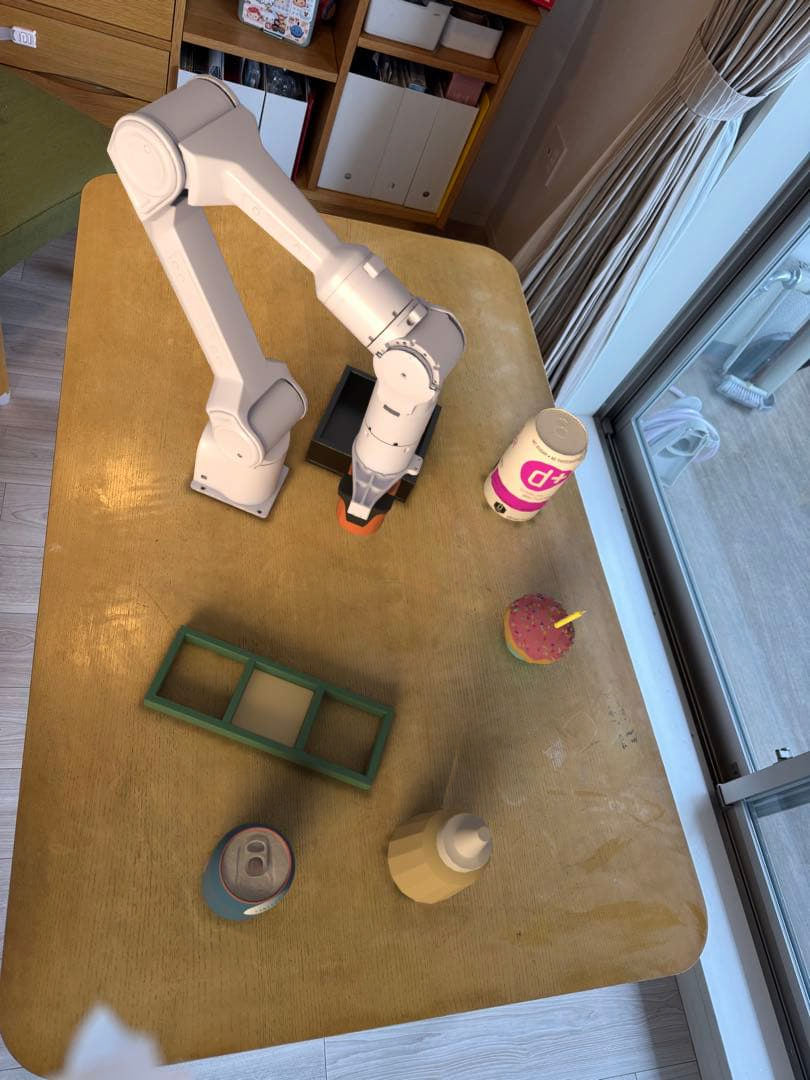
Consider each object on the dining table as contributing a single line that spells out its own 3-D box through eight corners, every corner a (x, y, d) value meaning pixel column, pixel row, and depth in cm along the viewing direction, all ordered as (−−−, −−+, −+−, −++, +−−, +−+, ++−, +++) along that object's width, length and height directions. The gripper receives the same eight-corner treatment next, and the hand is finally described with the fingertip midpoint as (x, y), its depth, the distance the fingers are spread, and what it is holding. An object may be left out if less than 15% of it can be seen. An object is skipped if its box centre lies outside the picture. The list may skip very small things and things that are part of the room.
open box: (304, 460, 96) (311, 439, 93) (339, 386, 104) (347, 364, 100) (404, 503, 98) (415, 484, 94) (431, 427, 105) (442, 406, 102)
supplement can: (535, 531, 102) (591, 469, 90) (477, 511, 101) (526, 445, 88) (541, 483, 106) (595, 418, 94) (485, 463, 105) (533, 394, 93)
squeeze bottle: (374, 821, 78) (432, 783, 63) (449, 818, 80) (522, 781, 65) (379, 909, 74) (442, 891, 59) (458, 904, 77) (537, 885, 62)
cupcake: (561, 628, 96) (610, 587, 86) (546, 688, 91) (597, 652, 81) (499, 599, 95) (542, 554, 85) (481, 658, 91) (524, 618, 81)
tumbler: (328, 524, 84) (342, 483, 78) (344, 487, 87) (359, 444, 81) (374, 543, 85) (392, 503, 78) (389, 505, 88) (407, 464, 81)
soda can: (275, 919, 71) (299, 909, 61) (198, 924, 69) (209, 915, 59) (276, 839, 74) (298, 817, 64) (202, 842, 72) (213, 819, 62)
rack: (365, 791, 79) (371, 786, 77) (143, 706, 77) (143, 699, 75) (388, 715, 84) (395, 708, 82) (180, 633, 81) (181, 624, 79)
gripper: (412, 496, 69) (378, 568, 80) (453, 386, 77) (416, 466, 88) (339, 465, 68) (314, 542, 79) (387, 359, 76) (359, 442, 87)
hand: (364, 500), depth 84 cm, fingers closed on tumbler, 5 cm apart
